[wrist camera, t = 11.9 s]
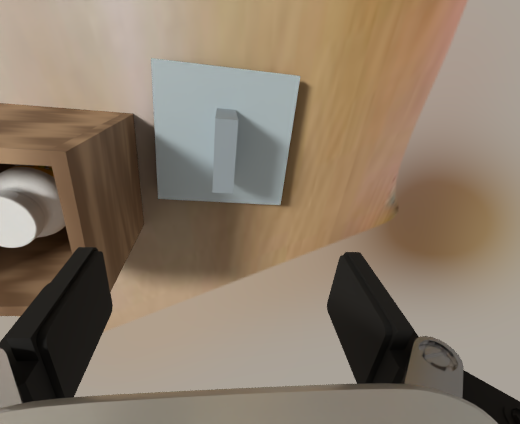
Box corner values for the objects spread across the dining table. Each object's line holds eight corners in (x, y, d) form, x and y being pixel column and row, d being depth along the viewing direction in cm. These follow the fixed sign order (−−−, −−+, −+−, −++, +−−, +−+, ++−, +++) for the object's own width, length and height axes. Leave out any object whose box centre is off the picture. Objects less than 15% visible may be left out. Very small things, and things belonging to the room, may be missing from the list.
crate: (133, 113, 32) (65, 151, 18) (143, 224, 38) (99, 314, 25) (-9, 102, 30) (-205, 135, 16) (26, 221, 36) (-94, 317, 23)
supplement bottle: (116, 190, 36) (66, 249, 24) (62, 201, 36) (-13, 266, 24) (91, 136, 33) (21, 176, 21) (33, 149, 33) (-69, 195, 21)
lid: (295, 75, 32) (318, 79, 25) (277, 198, 39) (290, 231, 31) (155, 58, 30) (132, 56, 22) (161, 191, 37) (145, 225, 29)
